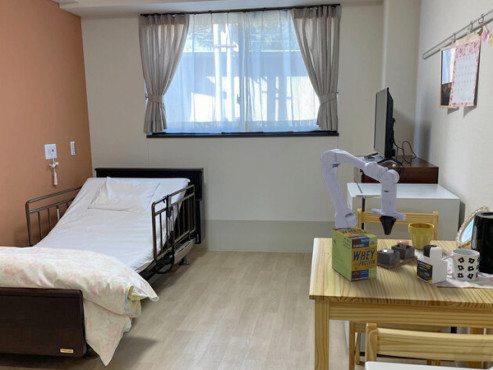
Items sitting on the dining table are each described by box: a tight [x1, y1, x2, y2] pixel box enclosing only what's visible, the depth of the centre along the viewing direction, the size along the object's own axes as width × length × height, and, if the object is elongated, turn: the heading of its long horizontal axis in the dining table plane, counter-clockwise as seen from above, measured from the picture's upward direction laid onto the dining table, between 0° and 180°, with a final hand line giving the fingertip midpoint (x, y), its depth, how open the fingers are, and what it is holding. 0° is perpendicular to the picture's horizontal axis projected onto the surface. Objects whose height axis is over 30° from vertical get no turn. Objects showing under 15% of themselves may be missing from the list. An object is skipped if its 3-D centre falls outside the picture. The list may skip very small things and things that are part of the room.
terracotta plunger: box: [396, 239, 410, 249], centre depth 172 cm, size 4×4×4 cm
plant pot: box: [407, 221, 435, 250], centre depth 185 cm, size 10×10×10 cm
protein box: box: [331, 226, 378, 282], centre depth 158 cm, size 10×15×16 cm
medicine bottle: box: [416, 244, 448, 285], centre depth 150 cm, size 7×7×12 cm
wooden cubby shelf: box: [377, 243, 418, 270], centre depth 169 cm, size 18×8×5 cm, turn 126°
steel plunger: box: [381, 248, 394, 255], centre depth 166 cm, size 4×4×4 cm
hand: (387, 234), depth 171 cm, fingers closed
